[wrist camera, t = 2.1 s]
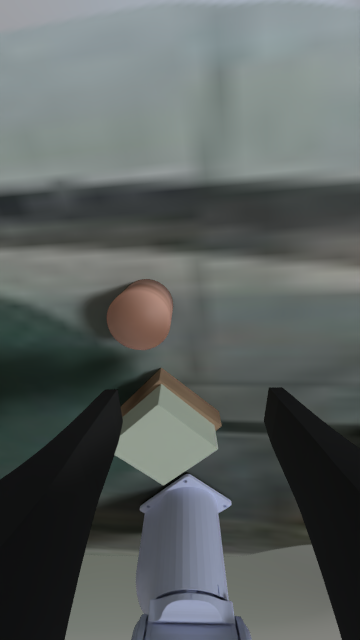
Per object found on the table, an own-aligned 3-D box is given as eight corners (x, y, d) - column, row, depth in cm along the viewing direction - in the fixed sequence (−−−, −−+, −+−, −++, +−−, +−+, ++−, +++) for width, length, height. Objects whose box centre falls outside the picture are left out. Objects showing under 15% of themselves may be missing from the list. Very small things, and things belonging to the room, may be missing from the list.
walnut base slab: (169, 445, 26) (167, 466, 23) (114, 409, 24) (107, 428, 21) (217, 407, 23) (221, 426, 21) (161, 364, 21) (159, 379, 19)
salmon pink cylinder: (150, 337, 20) (143, 360, 16) (112, 305, 19) (94, 323, 15) (183, 303, 19) (183, 320, 15) (144, 267, 17) (133, 276, 14)
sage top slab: (165, 460, 23) (163, 485, 21) (113, 425, 21) (104, 448, 19) (214, 425, 21) (218, 449, 19) (161, 383, 19) (158, 404, 17)
